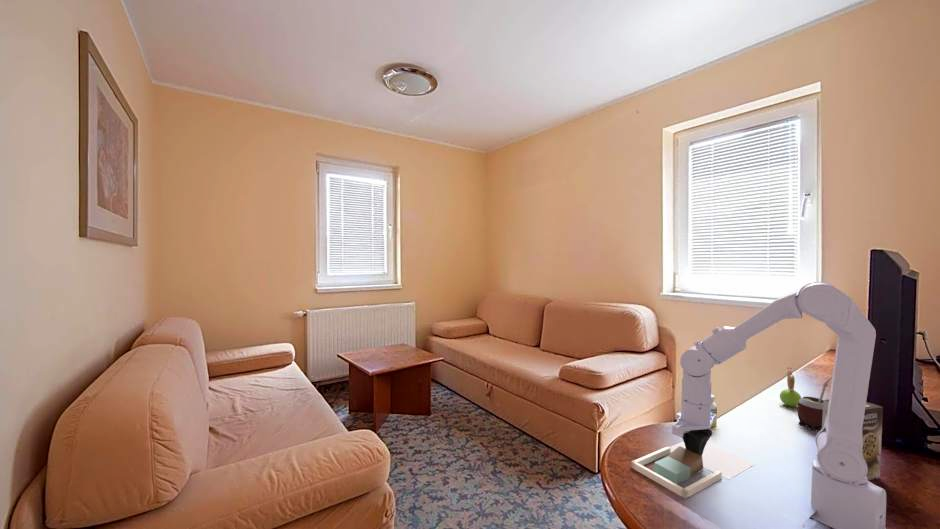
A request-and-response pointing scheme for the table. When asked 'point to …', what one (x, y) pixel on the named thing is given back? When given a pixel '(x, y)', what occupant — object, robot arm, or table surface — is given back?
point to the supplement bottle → (713, 409)
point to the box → (667, 483)
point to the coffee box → (868, 437)
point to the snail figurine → (790, 392)
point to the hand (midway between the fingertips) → (693, 459)
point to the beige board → (720, 461)
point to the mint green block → (672, 470)
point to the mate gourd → (812, 410)
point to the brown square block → (688, 459)
